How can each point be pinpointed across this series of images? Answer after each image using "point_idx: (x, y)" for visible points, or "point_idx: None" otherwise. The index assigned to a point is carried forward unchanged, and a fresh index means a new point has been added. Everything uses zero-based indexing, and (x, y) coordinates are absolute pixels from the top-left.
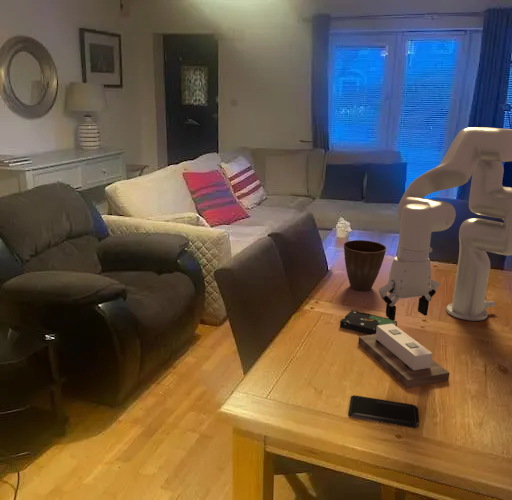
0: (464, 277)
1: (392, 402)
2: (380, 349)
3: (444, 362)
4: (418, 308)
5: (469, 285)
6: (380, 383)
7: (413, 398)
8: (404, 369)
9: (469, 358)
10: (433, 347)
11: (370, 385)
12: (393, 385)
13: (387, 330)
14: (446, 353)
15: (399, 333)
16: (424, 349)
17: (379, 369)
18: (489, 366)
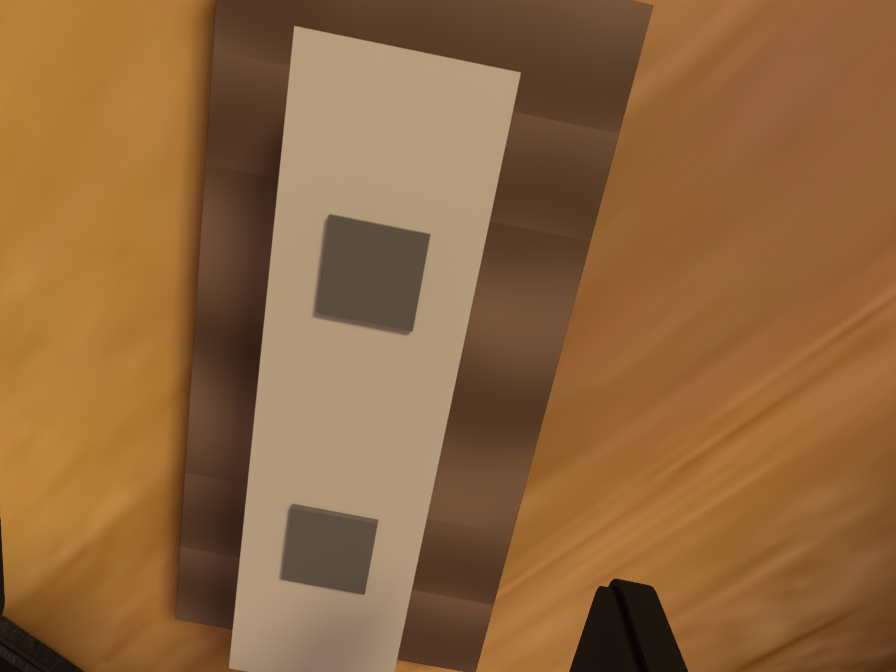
0: None
1: (20, 650)
2: (257, 239)
3: (638, 494)
4: (610, 631)
5: None
6: (81, 482)
7: (168, 651)
8: (235, 530)
9: (833, 534)
10: (771, 314)
11: (11, 471)
12: (142, 529)
13: (326, 201)
14: (766, 421)
15: (393, 325)
16: (378, 633)
17: (169, 363)
18: (836, 643)
